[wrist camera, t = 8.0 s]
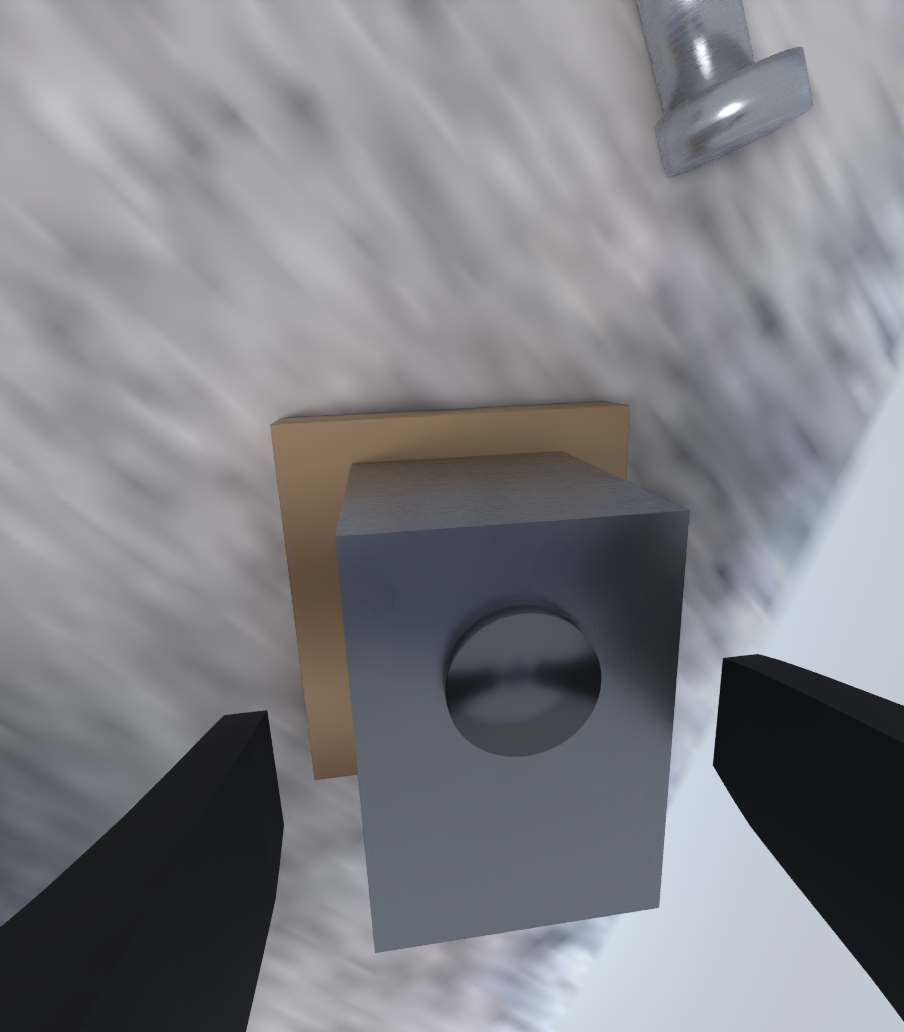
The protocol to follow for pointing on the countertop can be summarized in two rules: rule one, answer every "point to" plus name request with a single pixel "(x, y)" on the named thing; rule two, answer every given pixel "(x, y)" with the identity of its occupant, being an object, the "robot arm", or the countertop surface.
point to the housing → (509, 689)
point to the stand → (318, 501)
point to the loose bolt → (716, 81)
